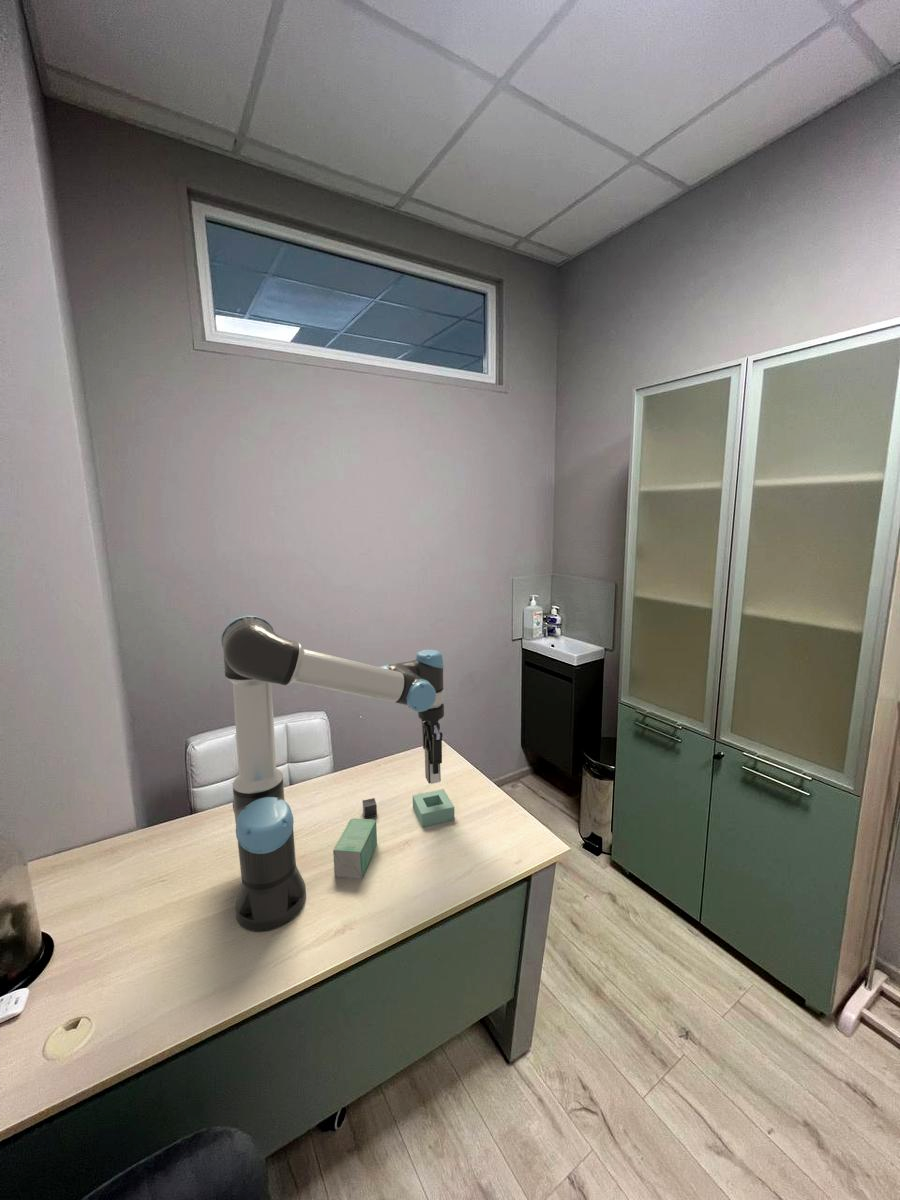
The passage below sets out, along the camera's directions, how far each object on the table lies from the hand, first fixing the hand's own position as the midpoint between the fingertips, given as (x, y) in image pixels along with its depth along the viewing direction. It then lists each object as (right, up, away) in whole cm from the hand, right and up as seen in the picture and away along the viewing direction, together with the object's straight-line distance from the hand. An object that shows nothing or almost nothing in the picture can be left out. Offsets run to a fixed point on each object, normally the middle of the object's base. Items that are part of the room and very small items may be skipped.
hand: (432, 778), depth 140 cm
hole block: (0, -11, +2) cm, 11 cm away
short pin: (-19, -11, +2) cm, 22 cm away
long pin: (0, -1, 0) cm, 1 cm away
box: (-19, -15, -17) cm, 29 cm away
